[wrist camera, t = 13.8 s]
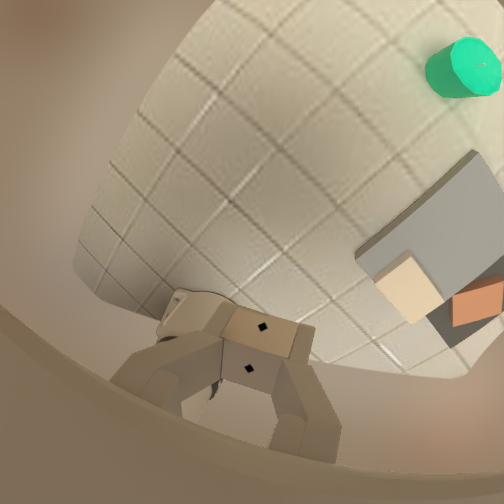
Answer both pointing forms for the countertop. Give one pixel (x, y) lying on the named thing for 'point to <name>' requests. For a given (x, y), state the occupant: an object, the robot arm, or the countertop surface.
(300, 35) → the countertop surface
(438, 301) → the cream tile
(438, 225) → the platform
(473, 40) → the candle
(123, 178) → the countertop surface
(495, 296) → the terracotta tile
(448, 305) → the mat
